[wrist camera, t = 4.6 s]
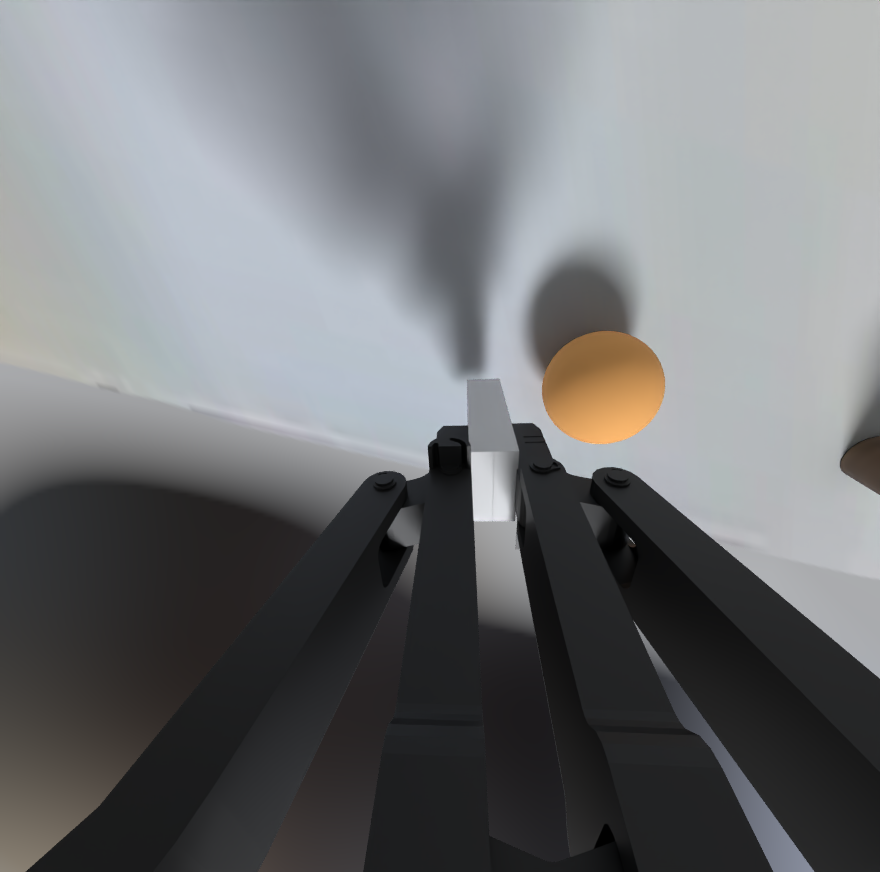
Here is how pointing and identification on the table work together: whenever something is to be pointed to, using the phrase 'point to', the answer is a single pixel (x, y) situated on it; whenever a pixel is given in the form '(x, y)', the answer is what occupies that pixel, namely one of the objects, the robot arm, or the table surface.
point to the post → (864, 463)
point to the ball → (603, 387)
